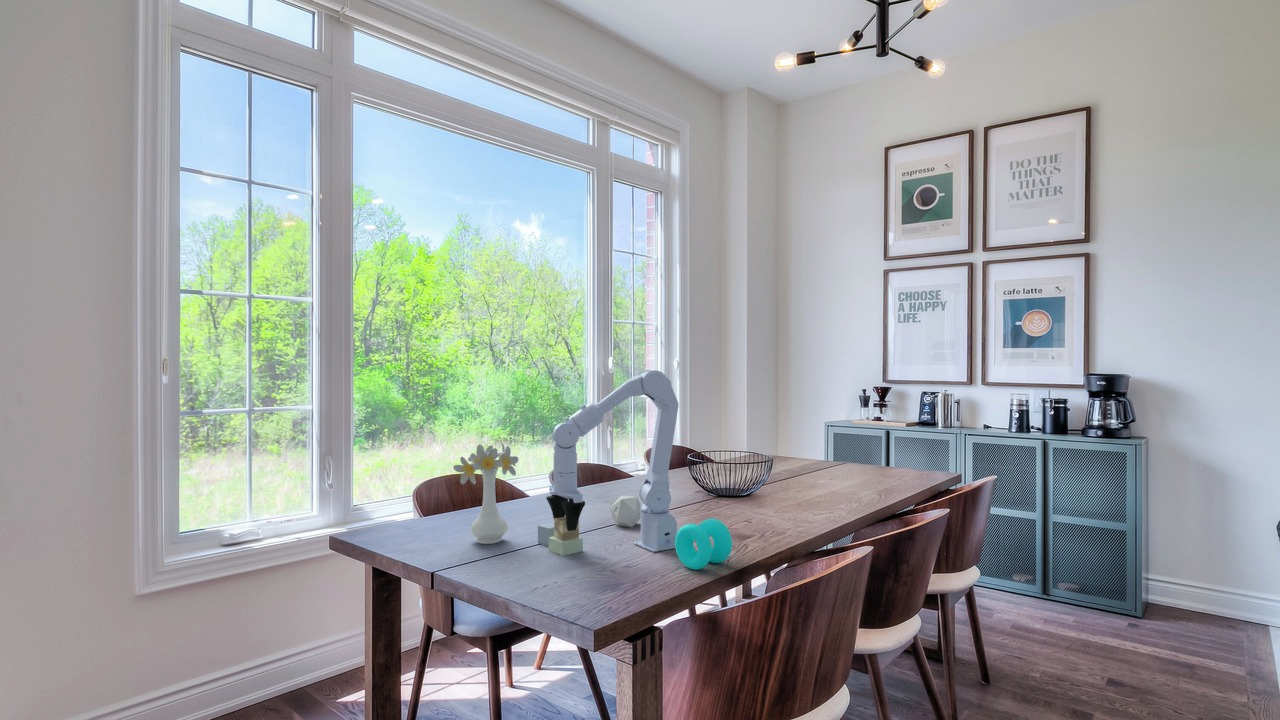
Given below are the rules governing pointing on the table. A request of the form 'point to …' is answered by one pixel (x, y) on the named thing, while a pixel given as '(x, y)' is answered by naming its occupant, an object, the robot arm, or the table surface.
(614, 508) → the die
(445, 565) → the table surface
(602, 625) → the table surface
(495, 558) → the table surface
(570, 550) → the pale green block
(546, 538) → the slate cube
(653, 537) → the robot arm
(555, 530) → the beech cube
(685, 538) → the donuts
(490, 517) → the flower vase
